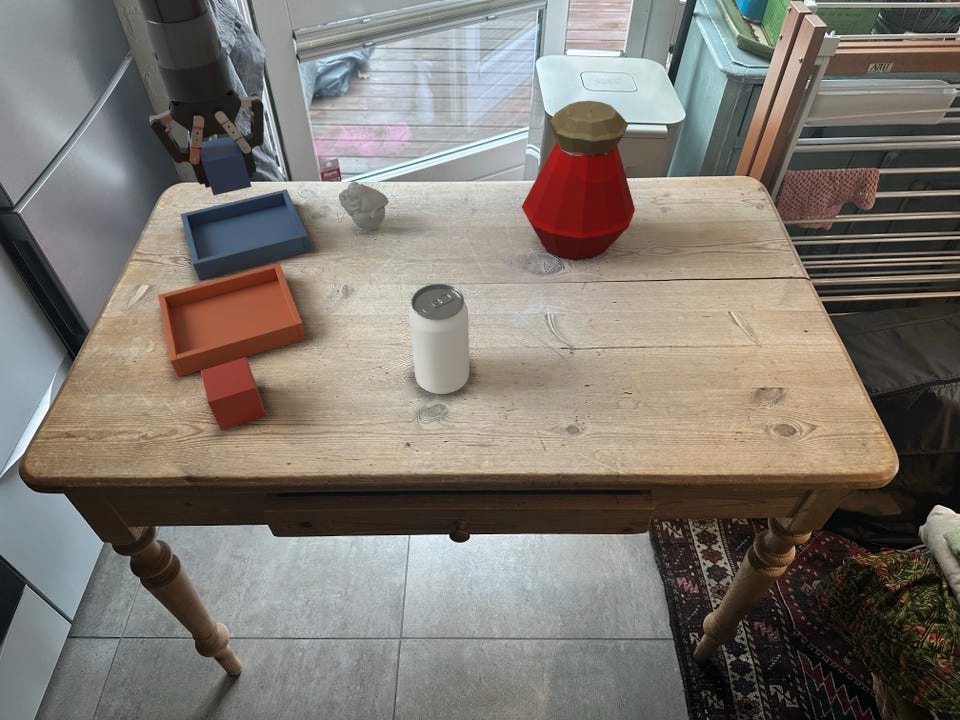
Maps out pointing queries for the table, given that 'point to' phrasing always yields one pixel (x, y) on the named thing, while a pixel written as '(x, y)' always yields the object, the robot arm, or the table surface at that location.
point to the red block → (232, 393)
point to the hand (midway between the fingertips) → (228, 179)
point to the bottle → (582, 184)
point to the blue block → (224, 166)
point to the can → (439, 338)
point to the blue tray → (244, 234)
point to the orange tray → (229, 319)
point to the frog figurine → (364, 205)
